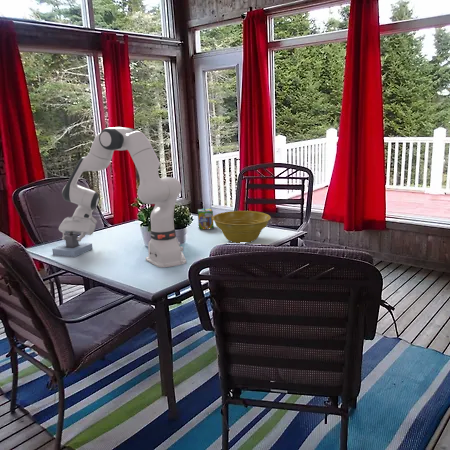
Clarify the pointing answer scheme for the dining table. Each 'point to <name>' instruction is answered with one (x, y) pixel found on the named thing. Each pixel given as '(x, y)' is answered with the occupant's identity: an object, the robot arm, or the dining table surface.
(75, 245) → the plug
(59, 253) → the socket
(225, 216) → the planter bowl
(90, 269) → the dining table surface
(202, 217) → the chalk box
